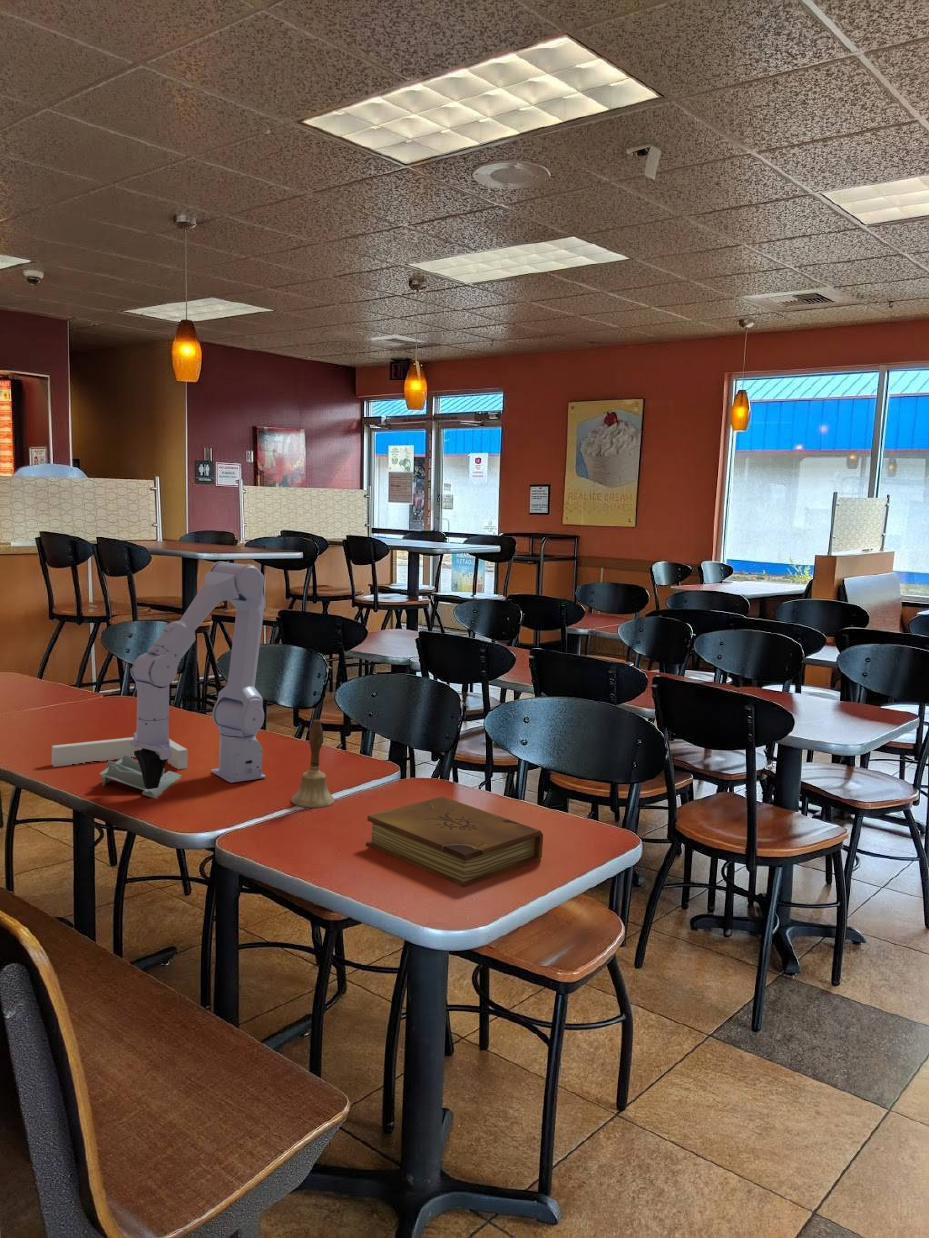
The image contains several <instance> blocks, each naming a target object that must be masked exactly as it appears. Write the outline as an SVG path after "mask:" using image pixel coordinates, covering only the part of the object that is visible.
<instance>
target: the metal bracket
mask: <svg viewBox="0 0 929 1238" xmlns="http://www.w3.org/2000/svg"><path fill="white" fill-rule="evenodd" d="M165 771H166V770H165V768H164V769H163V772H162V775H161V779H160V783H159V786H158V788H154V789H147V788H145V785H144V781H143V777H142V772H141V768H140V765H139V762H138V760H135V759H134V757H133V758H131V757H130V756H129V755H125V756H124V757H123V759H117V761H115V762H114V761H113V760H108V761H106V768H105V769H103V770H102V771H101V772H99V776H101V778H100V780H101V781H103V783H102V787H104V786H105V785H107V784H108V783H110V782H111V781H110V780H112V781H115V782H119V783H122V784H124V785H126V786H130V787H133V788H136V789H140V790H141V791H142V793H141V794H142V795H143V796H146V797H150V798H153V799H158V798H157V797H158V796H159V795H160V794H161V793H162V792H163V791H164V790H166V789H167V788H168V787H169V786H170V785H171V784H172V783H174V782H175V781H176V780H178V779H179V780H180V779H181V778H182V777H181V776H182V775H181V774H180V773H176V772H174V771H171V770H168V771H166V772H165ZM180 777H181V778H180ZM179 780H178V781H179ZM109 781H110V782H109ZM107 782H108V783H107ZM176 782H177V781H176ZM176 782H175V783H176ZM106 783H107V784H106ZM175 783H174V784H175ZM171 786H172V785H171ZM171 786H170V787H171ZM170 787H169V788H170ZM169 788H168V789H169ZM168 789H167V790H168ZM167 790H166V791H167Z"/></svg>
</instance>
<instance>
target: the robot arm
mask: <svg viewBox="0 0 929 1238" xmlns="http://www.w3.org/2000/svg"><path fill="white" fill-rule="evenodd" d="M264 584H265V576H264V574H263V573H262V572H261V571H260V569H259V568H258V567H257V566H256V565H254V564H249V563H248V564H242V563H234V562H226V561H221V560H220V561H216V562H214V563H213V565H212V566H211V567H210V568H209V571H207V572H206V573H205V574H204V576H203V585H202V586H201V587H200V589H199V591H197V594H196V595H195V597H194V598H193V599H192V601H191V602H190V604H189V606H187V607H188V608H187V609H186V611H185V612H184V613H183V615H182V616H181V618H180V620H176V621H171V622H169V623H168V624H165V626H164V627H163V628H162V633H161V634H160V635H159V637H158V638H157V639H156V640H155V642H154V643H153V644H152V645H150V647H149V648H148V651H147V652H144V653H143V654H140V655H139V656H138V657H136V659H134V662H133V664H132V667H130V669H129V670H130V675H131V677H132V680H134V681H135V690H136V731H135V732H133V737H134V741H131V742H130V745H131V746H132V747H140V748H142V750H137V751H134V755H135V756H136V757H135V758H136V761H138V762H139V765H140V768H141V772H142V777H143V781H144V785H145V788H147V789H154V788H158V786H159V783H160V779H161V775H162V772H163V769H165V766H166V764H167V761H168V759H172V748H171V747H170V741H169V739H170V738H169V731H170V730H169V729H170V728H169V721H170V720H169V718H170V684H172V683H173V681H175V680H176V677H177V674H178V667H179V665H180V662H181V660H182V658H183V657H184V656H185V655H186V653H187V652H188V650H189V649H190V648H191V646H192V645H193V644H194V642H196V632H195V631H196V630H197V629H198V628H199V627H200V625H201V624H203V622H204V621H205V619H207V617H208V616H209V615H210V614H211V613H212V611H214V609H215V608H216V607H217V606H218V605H219V604H220V603H221V602H226V601H229V602H230V603H231V604H232V606H233V607H234V608H235V610H236V613H235V621H234V630H233V635H232V636H233V637H232V645H231V652H230V661H229V668H228V669H229V671H228V677H227V684H226V685H225V686H223V688H222V689H221V690H219V691H218V693H217V700H216V702H215V704H214V705H213V708H212V712H211V715H212V720H213V723H214V725H216V726H217V731H218V732H219V749H218V750H219V752H218V755H219V757H218V768H212V769H211V770H210V772H211V773H213V774H214V775H216V776H217V777H220V778H221V779H222V780H225V781H226V782H228V783H230V784H233V783H238V782H244V781H245V782H246V781H251V780H259V779H260V780H261V779H265V778H266V775H265V774H264V773H262V772H263V771H262V769H263V746H262V745H261V743H260V742H259V741H258V739H257V737H256V736H257V735H258V734H259V730H260V729H261V728H262V726H263V724H264V720H265V712H264V708H263V704H264V702H263V701H264V699H263V697H262V695H261V694H260V692H259V691H258V689H256V687H255V686H256V680H257V679H256V678H257V672H258V671H257V669H258V662H259V653H260V647H261V637H262V629H263V621H264V612H265V606H266V605H265V603H266V602H265V596H264Z"/></svg>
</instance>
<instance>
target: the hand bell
mask: <svg viewBox="0 0 929 1238" xmlns="http://www.w3.org/2000/svg"><path fill="white" fill-rule="evenodd" d="M309 730H310V731H309V735H308V736H309V737H308V738H309V739H308V740H309V747H310V751H311V752H310V764H309V765H310V766H309V770H307V771H305V772H303V774H302V775H301V781H300V785H299V788H298V790H297V791H296V793H295V794H294V795H293V796H292V797H291V799H290V802H291V803H292V804H293V805H295V806H297V807H301V808H309V809H315V808H316V809H319V808H326V807H329V806H332V805H333V804H334V803H335V801H336V800H335V798H334V796H333V795H332V794H331V793H330V791H329V790H328V789H329V788H328V786H327V779H326V778H327V775H326V773H325V772H323V771H321V770H320V751H321V749H322V745H323V742H324V741H323V739H324V730H323V727H322V723H321V720H320V719H313V721H312V725H311V727H310V729H309Z"/></svg>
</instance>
